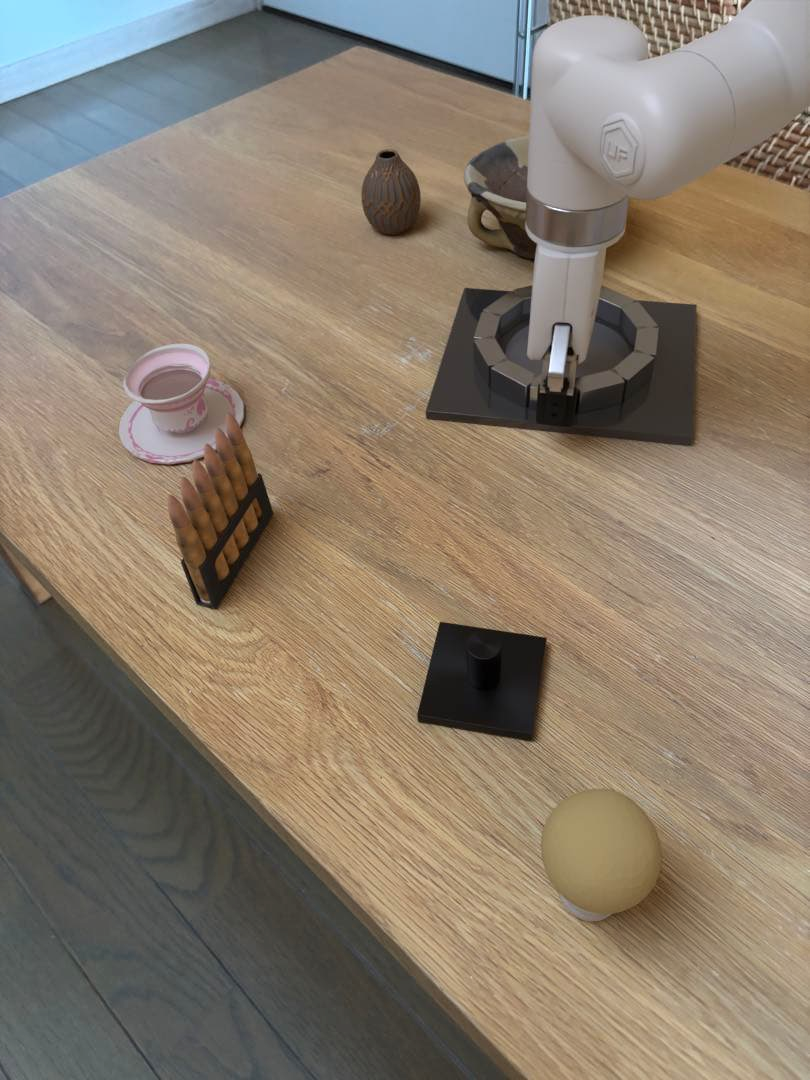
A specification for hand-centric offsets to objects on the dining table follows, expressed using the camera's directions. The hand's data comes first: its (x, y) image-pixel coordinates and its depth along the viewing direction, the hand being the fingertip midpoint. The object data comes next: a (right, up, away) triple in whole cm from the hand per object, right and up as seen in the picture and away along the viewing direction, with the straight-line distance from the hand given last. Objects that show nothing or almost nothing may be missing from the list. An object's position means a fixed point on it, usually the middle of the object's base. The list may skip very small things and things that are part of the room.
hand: (560, 387), depth 78 cm
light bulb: (-3, -35, -25) cm, 43 cm away
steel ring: (+1, +4, +6) cm, 8 cm away
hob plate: (+2, +4, +7) cm, 8 cm away
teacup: (-35, -3, +5) cm, 36 cm away
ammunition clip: (-28, -15, -6) cm, 32 cm away
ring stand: (-8, -24, -15) cm, 30 cm away
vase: (-15, +24, +26) cm, 38 cm away
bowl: (+2, +20, +21) cm, 29 cm away
